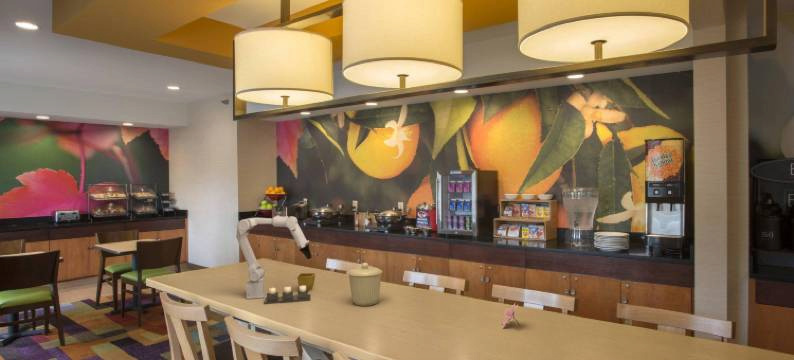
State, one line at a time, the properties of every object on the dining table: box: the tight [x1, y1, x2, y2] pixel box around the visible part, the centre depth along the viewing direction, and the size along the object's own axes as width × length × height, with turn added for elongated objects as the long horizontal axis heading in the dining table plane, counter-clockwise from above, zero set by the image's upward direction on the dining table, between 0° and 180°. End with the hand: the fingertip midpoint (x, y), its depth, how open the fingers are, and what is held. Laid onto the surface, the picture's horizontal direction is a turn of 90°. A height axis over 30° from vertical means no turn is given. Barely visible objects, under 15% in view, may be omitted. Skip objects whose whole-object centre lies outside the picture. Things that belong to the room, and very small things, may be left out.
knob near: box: [268, 286, 277, 295], centre depth 244 cm, size 4×4×4 cm
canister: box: [347, 262, 383, 307], centre depth 236 cm, size 18×18×21 cm
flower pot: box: [296, 272, 316, 292], centre depth 268 cm, size 9×9×9 cm
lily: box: [501, 303, 521, 329], centre depth 196 cm, size 12×12×10 cm
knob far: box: [298, 285, 306, 293], centre depth 248 cm, size 4×4×4 cm
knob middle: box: [283, 285, 292, 294], centre depth 246 cm, size 4×4×4 cm
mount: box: [263, 290, 312, 305], centre depth 246 cm, size 24×10×4 cm, turn 101°
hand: (309, 258), depth 254 cm, fingers open, 7 cm apart
